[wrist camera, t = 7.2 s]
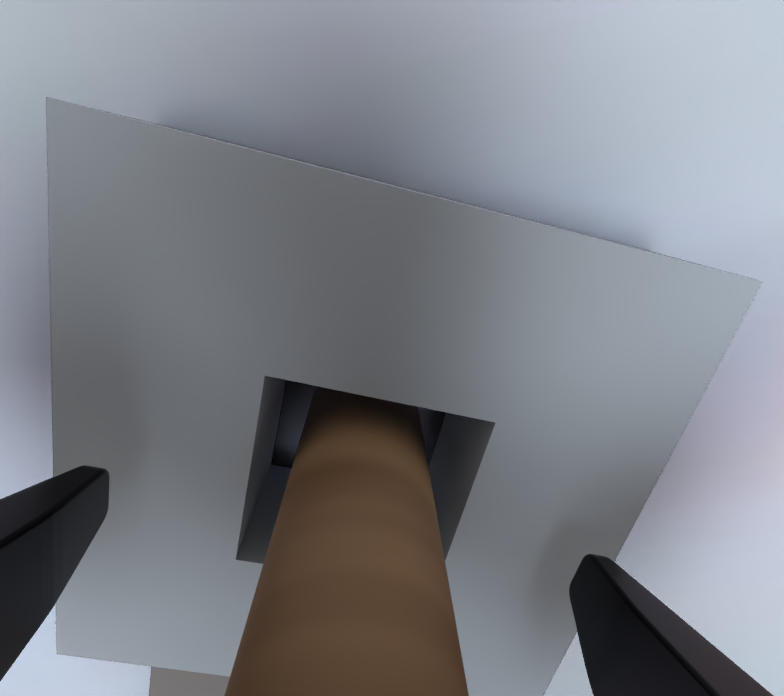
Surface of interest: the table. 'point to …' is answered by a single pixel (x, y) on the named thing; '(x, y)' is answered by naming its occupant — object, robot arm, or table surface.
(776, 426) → the table surface
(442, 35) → the table surface
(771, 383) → the table surface
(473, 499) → the socket block
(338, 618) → the peg
